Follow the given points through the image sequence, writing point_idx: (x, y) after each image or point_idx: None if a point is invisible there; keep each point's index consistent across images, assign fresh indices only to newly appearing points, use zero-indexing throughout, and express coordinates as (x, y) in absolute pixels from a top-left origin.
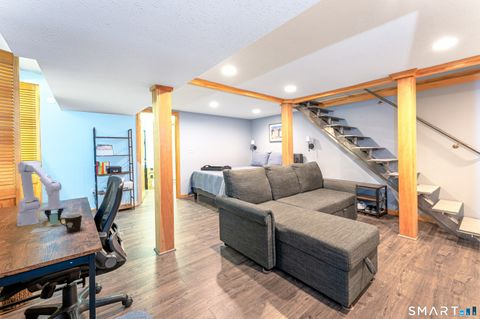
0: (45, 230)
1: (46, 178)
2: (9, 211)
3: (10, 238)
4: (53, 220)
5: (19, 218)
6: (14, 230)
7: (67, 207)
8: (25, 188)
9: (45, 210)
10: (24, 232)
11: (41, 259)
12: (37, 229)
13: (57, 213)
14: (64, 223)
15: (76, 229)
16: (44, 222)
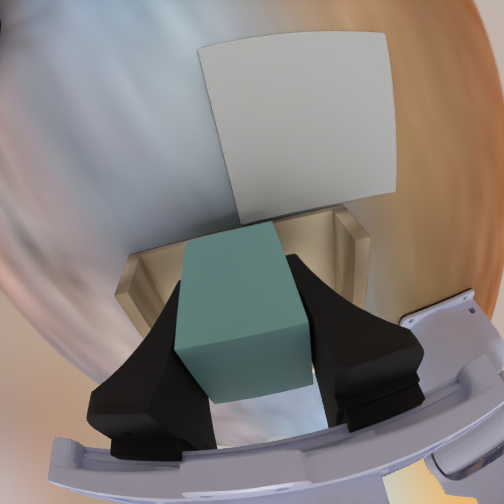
0: (249, 63)
1: None
2: None
3: (461, 14)
4: (234, 257)
5: (490, 331)
6: (484, 219)
7: (52, 458)
8: None
9: (410, 409)
10: (438, 129)
11: None
12: (363, 144)
13: (210, 382)
14: (168, 288)
15: None
16: (350, 275)
